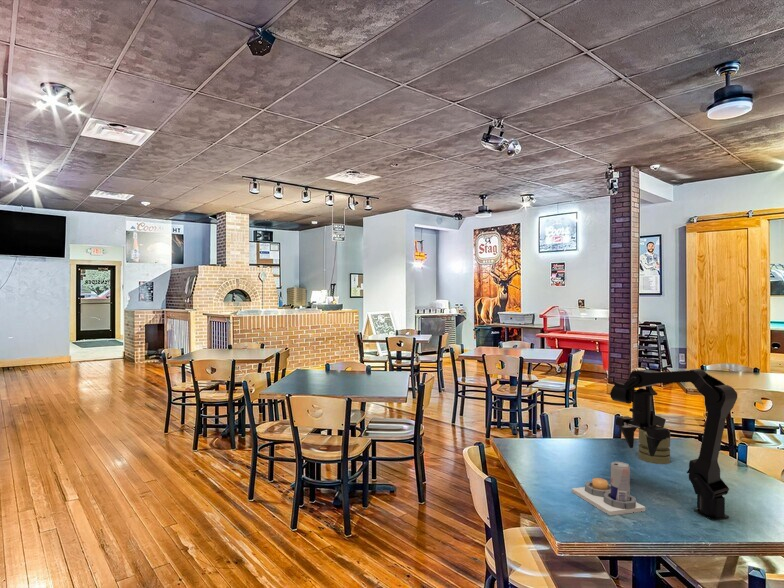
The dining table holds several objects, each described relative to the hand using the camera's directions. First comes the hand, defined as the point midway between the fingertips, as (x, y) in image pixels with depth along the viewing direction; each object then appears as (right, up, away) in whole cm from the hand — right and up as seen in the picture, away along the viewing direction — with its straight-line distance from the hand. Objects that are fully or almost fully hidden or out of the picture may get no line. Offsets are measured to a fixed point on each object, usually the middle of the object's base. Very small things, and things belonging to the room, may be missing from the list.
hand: (641, 451), depth 163 cm
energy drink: (-15, -11, -15) cm, 24 cm away
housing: (-17, -12, -11) cm, 24 cm away
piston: (+21, -14, +31) cm, 40 cm away
